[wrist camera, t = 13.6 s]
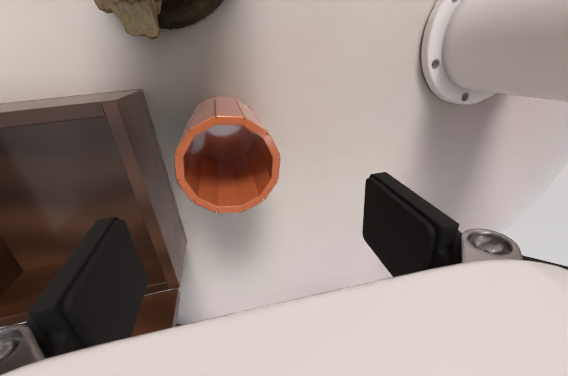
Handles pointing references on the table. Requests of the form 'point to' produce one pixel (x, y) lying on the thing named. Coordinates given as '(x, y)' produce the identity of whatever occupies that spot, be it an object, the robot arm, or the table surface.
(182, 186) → the cup
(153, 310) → the lid
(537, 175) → the table surface
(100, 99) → the chest
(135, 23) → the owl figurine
